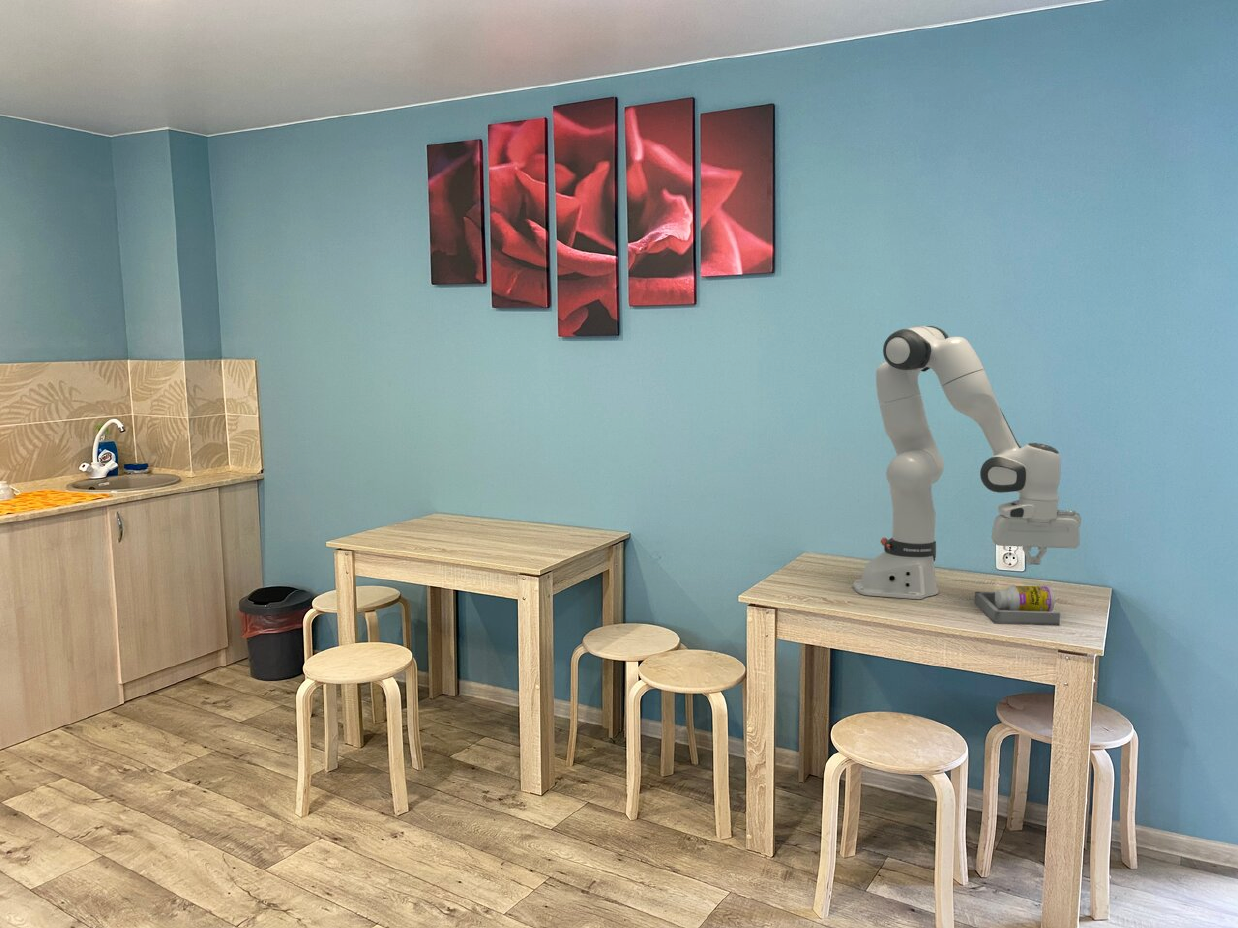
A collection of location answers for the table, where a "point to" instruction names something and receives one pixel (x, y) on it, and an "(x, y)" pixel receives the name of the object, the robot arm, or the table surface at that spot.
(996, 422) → the robot arm
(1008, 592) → the supplement bottle
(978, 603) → the tray
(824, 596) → the table surface
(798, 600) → the table surface
